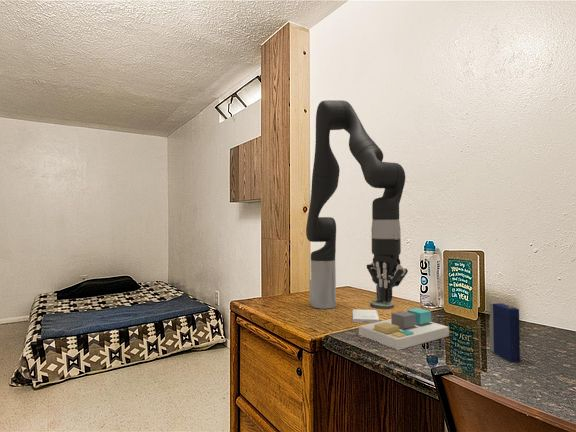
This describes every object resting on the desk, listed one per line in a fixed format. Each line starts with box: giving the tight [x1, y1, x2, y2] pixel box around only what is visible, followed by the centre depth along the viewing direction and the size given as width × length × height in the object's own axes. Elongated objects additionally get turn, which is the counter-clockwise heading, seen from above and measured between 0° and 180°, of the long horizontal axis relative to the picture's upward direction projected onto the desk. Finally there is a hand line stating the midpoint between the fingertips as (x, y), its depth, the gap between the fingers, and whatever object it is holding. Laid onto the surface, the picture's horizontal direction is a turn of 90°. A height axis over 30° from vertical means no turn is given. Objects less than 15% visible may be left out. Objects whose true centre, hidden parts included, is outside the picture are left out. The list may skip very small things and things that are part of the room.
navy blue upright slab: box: [488, 301, 521, 363], centre depth 84 cm, size 7×2×12 cm, turn 4°
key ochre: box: [374, 322, 399, 335], centre depth 96 cm, size 4×4×3 cm
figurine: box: [369, 276, 395, 310], centre depth 134 cm, size 8×8×12 cm
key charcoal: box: [390, 310, 416, 328], centre depth 100 cm, size 4×4×3 cm
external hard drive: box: [352, 308, 380, 324], centre depth 119 cm, size 2×8×12 cm
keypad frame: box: [358, 318, 450, 351], centre depth 100 cm, size 14×20×3 cm
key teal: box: [406, 307, 432, 324], centre depth 103 cm, size 4×4×3 cm
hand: (386, 301), depth 97 cm, fingers closed
